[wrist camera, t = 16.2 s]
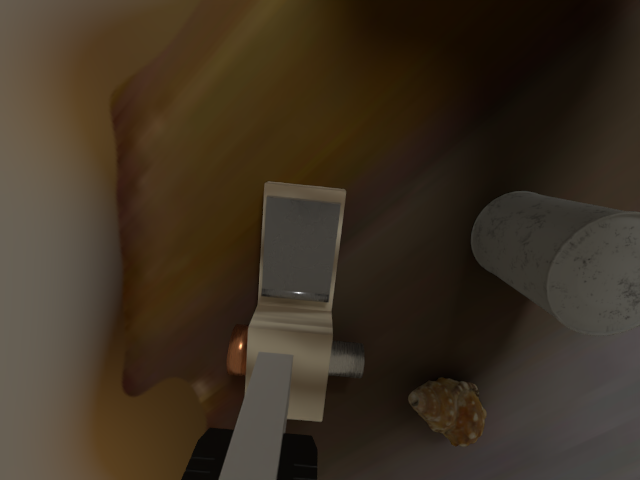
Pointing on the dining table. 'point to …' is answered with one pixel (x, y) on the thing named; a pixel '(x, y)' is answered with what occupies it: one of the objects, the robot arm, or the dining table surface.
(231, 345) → the pin
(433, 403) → the seashell
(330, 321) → the block
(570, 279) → the grey stone cylinder
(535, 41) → the dining table surface
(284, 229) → the latch flap
